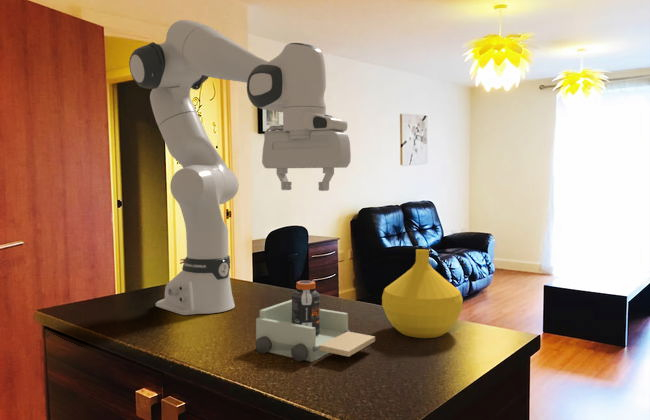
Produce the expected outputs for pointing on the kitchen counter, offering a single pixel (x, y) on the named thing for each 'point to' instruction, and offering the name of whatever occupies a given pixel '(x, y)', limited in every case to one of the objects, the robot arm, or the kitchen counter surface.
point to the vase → (422, 301)
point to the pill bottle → (306, 305)
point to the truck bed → (296, 332)
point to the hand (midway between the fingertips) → (304, 190)
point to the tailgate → (347, 343)
